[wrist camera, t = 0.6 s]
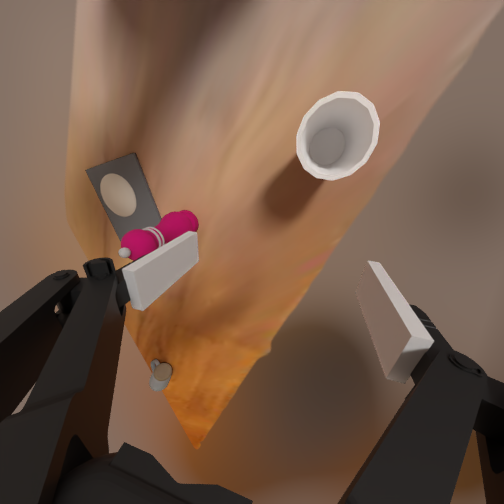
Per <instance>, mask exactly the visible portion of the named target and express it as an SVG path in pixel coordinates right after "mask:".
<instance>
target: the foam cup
mask: <svg viewBox="0 0 504 504" xmlns="http://www.w3.org/2000/svg"><path fill="white" fill-rule="evenodd" d="M379 127H380V121H379V118H378V115H377V113H376V110H375V107H374V104H373V103H372V102H370V101H369V100H368V99H366V98H365V97H364V96H362V95H361V94H360V93H358V92H344V91H337V92H335V93H333V94H331V95H329V96H326V97H324V98H322V99H320V100H318V101H317V102H316V104H315V105H314V106H313V107H312V108H311V109H310V110H309V111H308V112H307V113H306V114H305V116H304V117H303V120H302V122H301V125H300V128H299V130H298V133H297V135H296V140H297V156H298V158H299V160H300V162H301V164H302V166H303V168H304V169H305V170H306V171H307V172H309V173H310V174H312V175H313V176H314V177H316V178H319V179H326V180H336V179H339V178H343V177H346V176H349V175H351V174H352V173H354V172H355V171H356V170H357V169H359V168H360V167H361V166H362V165H364V164H365V163H366V162H367V160H368V159H369V157H370V155H371V153H372V152H373V150H374V148H375V147H376V145H377V141H378V134H379Z"/></svg>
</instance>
